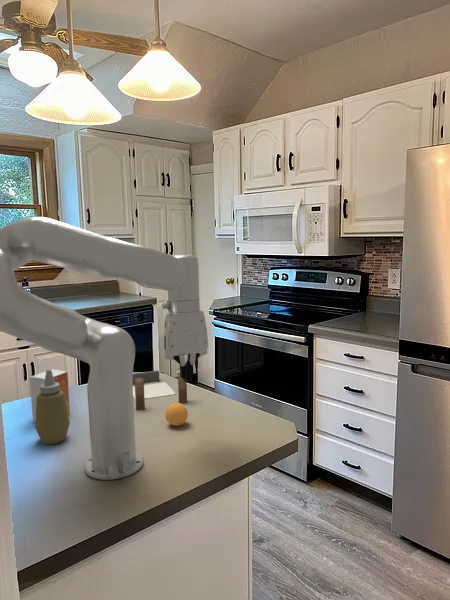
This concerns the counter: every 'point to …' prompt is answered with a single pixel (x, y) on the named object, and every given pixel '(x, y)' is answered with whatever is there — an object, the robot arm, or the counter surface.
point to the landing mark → (156, 390)
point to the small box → (40, 379)
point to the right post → (182, 390)
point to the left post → (139, 394)
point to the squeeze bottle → (51, 412)
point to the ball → (176, 414)
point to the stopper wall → (147, 376)
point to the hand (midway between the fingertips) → (187, 379)
